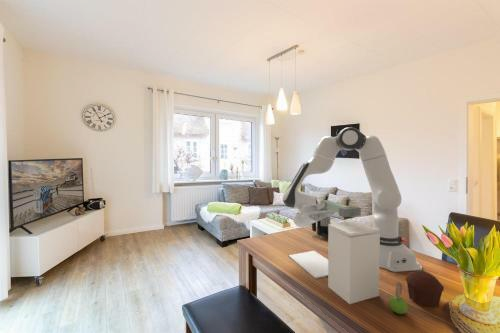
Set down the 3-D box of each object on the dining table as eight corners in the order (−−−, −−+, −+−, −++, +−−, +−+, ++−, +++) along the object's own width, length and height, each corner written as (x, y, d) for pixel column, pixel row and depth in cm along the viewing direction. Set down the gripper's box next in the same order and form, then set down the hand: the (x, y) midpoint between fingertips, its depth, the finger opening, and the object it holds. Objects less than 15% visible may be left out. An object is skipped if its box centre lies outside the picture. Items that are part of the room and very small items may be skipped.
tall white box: (328, 286, 96) (328, 224, 95) (355, 280, 101) (355, 220, 100) (349, 304, 85) (350, 233, 83) (378, 295, 90) (380, 228, 88)
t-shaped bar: (316, 207, 107) (316, 200, 107) (330, 205, 110) (330, 199, 110) (344, 217, 90) (344, 209, 90) (360, 215, 93) (360, 207, 93)
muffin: (401, 288, 94) (401, 264, 93) (434, 293, 91) (435, 268, 90) (411, 307, 83) (412, 280, 82) (449, 313, 79) (450, 285, 79)
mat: (288, 256, 125) (288, 255, 125) (314, 251, 130) (314, 250, 130) (315, 278, 102) (315, 277, 102) (345, 272, 108) (345, 270, 108)
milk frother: (321, 230, 166) (321, 209, 166) (342, 236, 154) (342, 213, 153) (309, 234, 157) (309, 213, 157) (330, 241, 145) (330, 217, 144)
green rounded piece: (388, 315, 79) (388, 280, 78) (389, 305, 84) (390, 272, 83) (407, 321, 76) (408, 285, 75) (407, 310, 81) (408, 277, 80)
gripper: (293, 208, 114) (307, 199, 102) (328, 205, 121) (345, 195, 109) (296, 221, 111) (311, 213, 100) (332, 217, 118) (349, 208, 106)
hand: (329, 203), depth 104 cm, fingers closed on t-shaped bar, 3 cm apart
